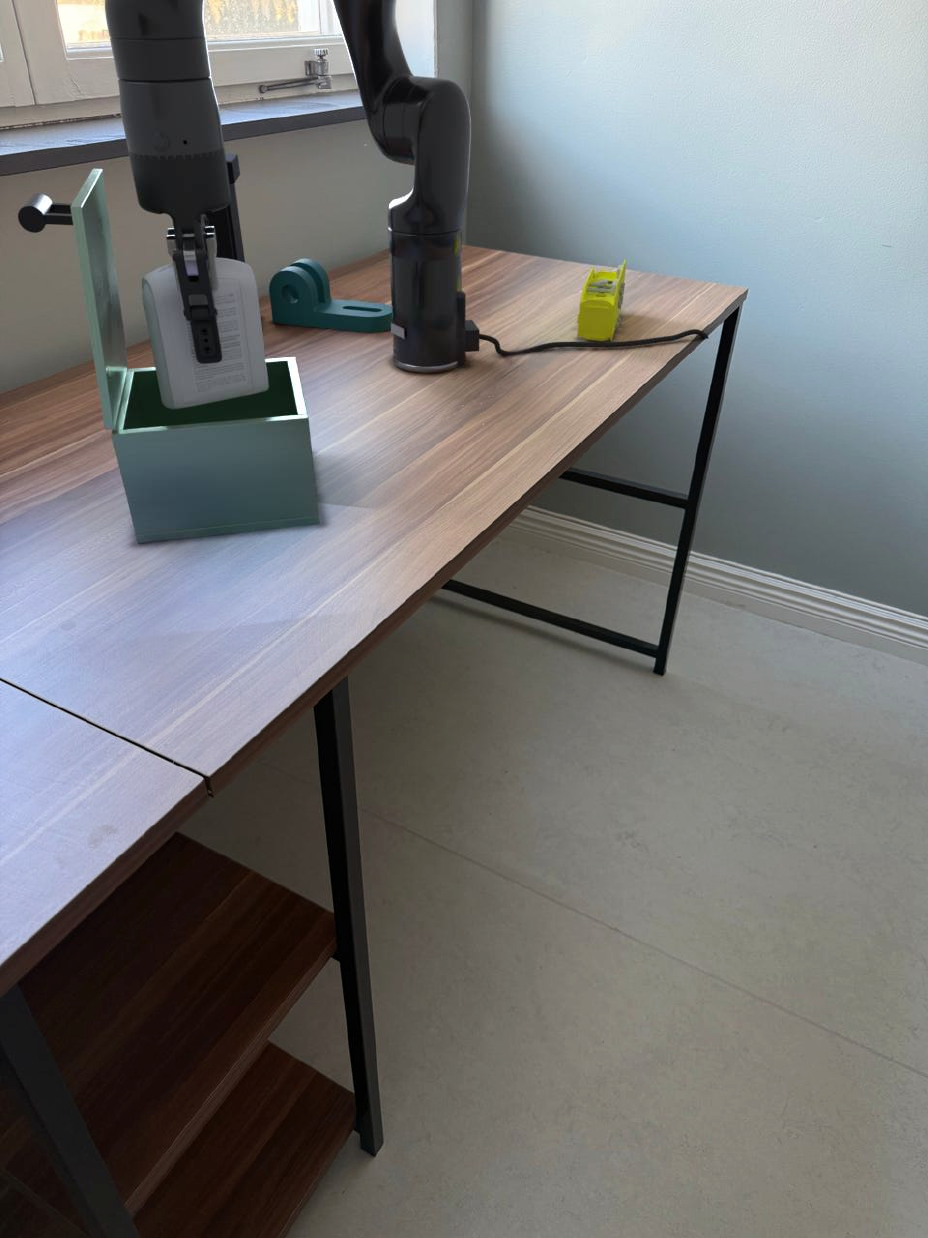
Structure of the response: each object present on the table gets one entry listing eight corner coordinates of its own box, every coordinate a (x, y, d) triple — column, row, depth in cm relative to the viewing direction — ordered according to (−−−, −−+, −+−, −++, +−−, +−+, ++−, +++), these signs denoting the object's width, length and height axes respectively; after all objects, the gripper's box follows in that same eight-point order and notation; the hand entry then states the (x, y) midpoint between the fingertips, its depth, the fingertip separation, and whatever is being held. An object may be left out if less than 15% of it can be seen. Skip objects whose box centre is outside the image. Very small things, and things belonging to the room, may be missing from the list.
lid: (102, 168, 78) (33, 164, 76) (81, 206, 65) (-1, 202, 64) (128, 364, 88) (67, 364, 87) (114, 429, 75) (43, 430, 74)
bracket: (272, 322, 134) (266, 268, 129) (292, 309, 139) (286, 256, 134) (385, 334, 130) (382, 278, 125) (400, 319, 135) (398, 266, 130)
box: (305, 453, 98) (295, 356, 91) (319, 524, 85) (308, 417, 79) (147, 468, 94) (125, 368, 88) (137, 543, 82) (110, 434, 76)
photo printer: (259, 378, 88) (241, 246, 80) (277, 392, 85) (260, 256, 77) (156, 400, 83) (127, 262, 76) (171, 415, 80) (142, 273, 73)
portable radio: (220, 315, 136) (191, 131, 122) (259, 314, 137) (235, 131, 122) (212, 332, 130) (181, 140, 115) (254, 331, 130) (228, 140, 116)
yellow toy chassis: (614, 346, 126) (620, 286, 121) (574, 343, 127) (579, 283, 122) (623, 312, 139) (630, 256, 134) (587, 309, 140) (592, 254, 135)
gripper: (224, 156, 66) (254, 375, 76) (222, 129, 78) (249, 323, 88) (119, 159, 65) (164, 382, 75) (133, 131, 76) (171, 328, 86)
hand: (210, 349), depth 81 cm, fingers closed on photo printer, 5 cm apart
